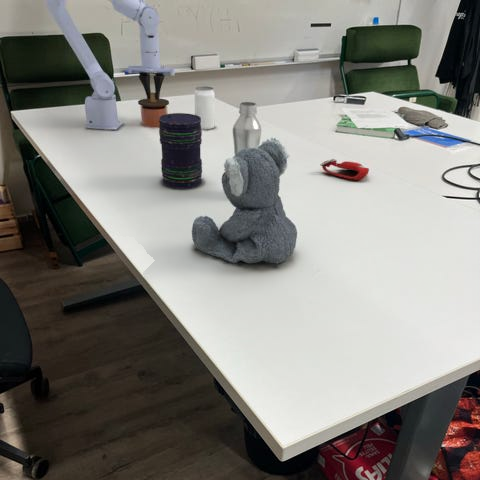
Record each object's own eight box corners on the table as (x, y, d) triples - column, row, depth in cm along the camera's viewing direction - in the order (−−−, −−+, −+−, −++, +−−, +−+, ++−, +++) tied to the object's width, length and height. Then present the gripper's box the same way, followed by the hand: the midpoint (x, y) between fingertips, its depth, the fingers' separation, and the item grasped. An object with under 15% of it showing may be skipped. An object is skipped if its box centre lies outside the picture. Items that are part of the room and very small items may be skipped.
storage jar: (209, 180, 120) (209, 117, 111) (188, 192, 113) (186, 126, 104) (176, 172, 124) (174, 110, 115) (154, 183, 116) (149, 119, 108)
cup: (138, 126, 157) (137, 108, 154) (145, 120, 164) (144, 102, 161) (164, 128, 157) (163, 110, 154) (170, 121, 164) (169, 104, 160)
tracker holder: (355, 162, 131) (379, 165, 123) (351, 179, 133) (374, 183, 124) (318, 156, 126) (340, 158, 118) (315, 173, 127) (336, 176, 119)
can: (213, 130, 157) (214, 90, 150) (194, 129, 157) (193, 89, 150) (215, 125, 162) (215, 86, 155) (196, 124, 162) (195, 85, 155)
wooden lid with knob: (134, 105, 153) (133, 95, 151) (142, 99, 161) (142, 89, 159) (165, 107, 152) (164, 97, 151) (172, 101, 160) (171, 91, 159)
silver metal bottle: (261, 191, 115) (267, 102, 103) (253, 201, 110) (258, 109, 98) (236, 187, 117) (239, 99, 105) (226, 197, 111) (228, 105, 99)
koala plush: (243, 220, 101) (247, 124, 90) (315, 248, 92) (330, 145, 81) (185, 249, 90) (181, 143, 79) (260, 283, 81) (268, 169, 70)
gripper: (123, 51, 145) (127, 100, 153) (170, 54, 144) (172, 102, 152) (130, 48, 151) (134, 95, 159) (175, 51, 150) (177, 98, 158)
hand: (153, 98), depth 156 cm, fingers closed on wooden lid with knob, 2 cm apart
